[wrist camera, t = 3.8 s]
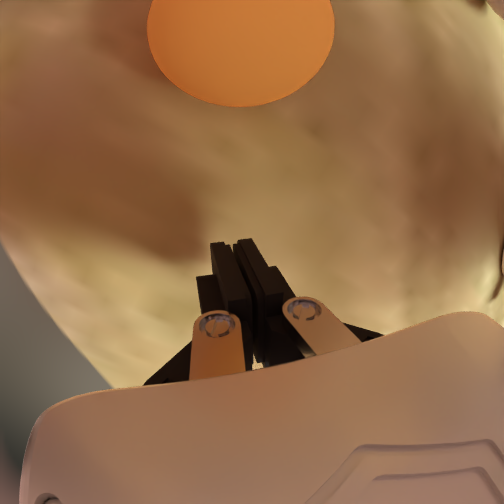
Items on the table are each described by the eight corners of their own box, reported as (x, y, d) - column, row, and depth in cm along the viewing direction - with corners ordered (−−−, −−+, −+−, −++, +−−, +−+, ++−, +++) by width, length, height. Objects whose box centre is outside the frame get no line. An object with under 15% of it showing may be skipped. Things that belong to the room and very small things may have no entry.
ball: (295, 108, 12) (375, 112, 7) (156, 114, 11) (133, 114, 6) (292, -7, 9) (362, -61, 4) (156, -9, 8) (144, -83, 3)
